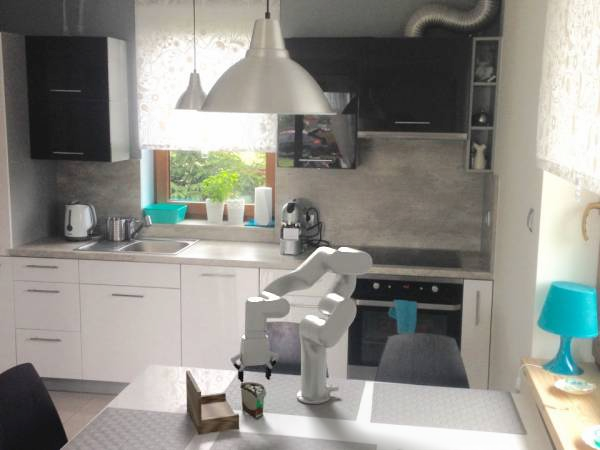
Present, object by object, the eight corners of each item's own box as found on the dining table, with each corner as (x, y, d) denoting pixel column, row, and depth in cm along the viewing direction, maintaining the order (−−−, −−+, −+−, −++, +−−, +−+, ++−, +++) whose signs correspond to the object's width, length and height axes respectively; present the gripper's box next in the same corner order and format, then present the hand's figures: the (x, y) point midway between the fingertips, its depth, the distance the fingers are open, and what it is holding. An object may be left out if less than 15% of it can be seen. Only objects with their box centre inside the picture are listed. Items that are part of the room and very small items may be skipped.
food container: (272, 417, 251) (273, 390, 249) (257, 421, 247) (257, 394, 246) (255, 405, 261) (254, 379, 259) (240, 408, 257) (240, 382, 256)
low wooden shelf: (225, 405, 260) (224, 366, 258) (239, 428, 242) (238, 386, 239) (186, 410, 256) (186, 370, 253) (198, 434, 237) (197, 392, 235)
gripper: (275, 328, 255) (274, 373, 258) (228, 331, 249) (228, 378, 252) (282, 334, 248) (281, 381, 251) (234, 338, 242) (233, 386, 245)
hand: (254, 379), depth 251 cm, fingers open, 9 cm apart
